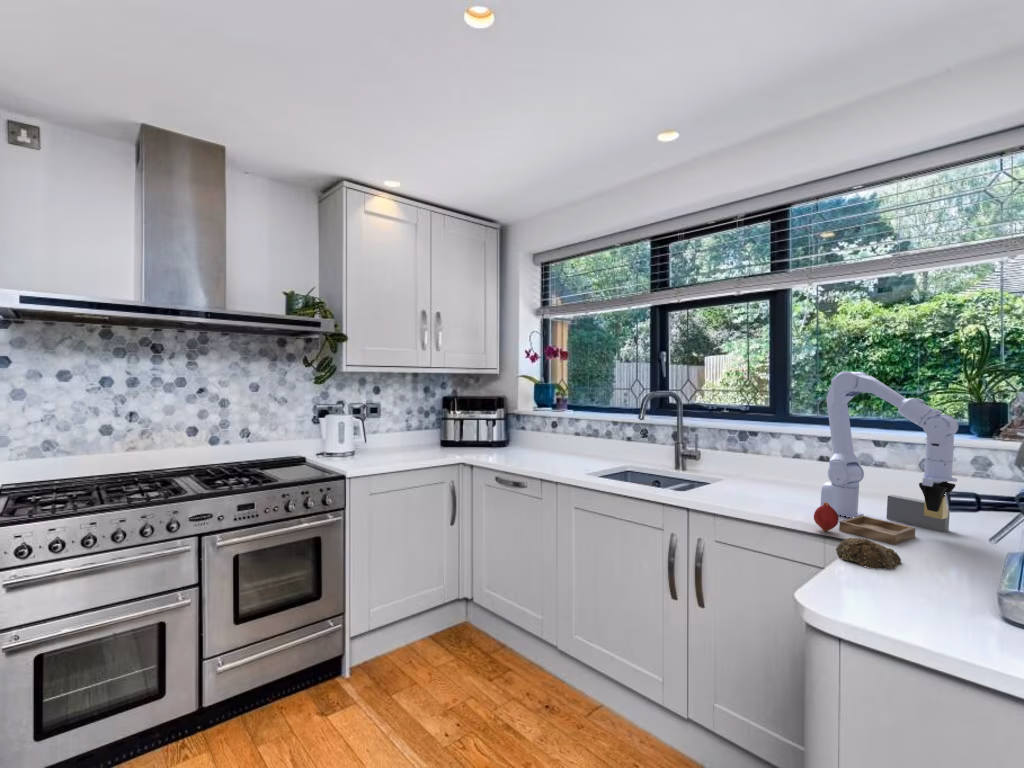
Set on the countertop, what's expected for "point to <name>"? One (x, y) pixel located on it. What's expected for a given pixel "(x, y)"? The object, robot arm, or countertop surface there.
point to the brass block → (941, 512)
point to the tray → (877, 529)
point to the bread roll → (867, 553)
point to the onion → (826, 517)
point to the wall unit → (913, 513)
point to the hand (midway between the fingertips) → (935, 509)
